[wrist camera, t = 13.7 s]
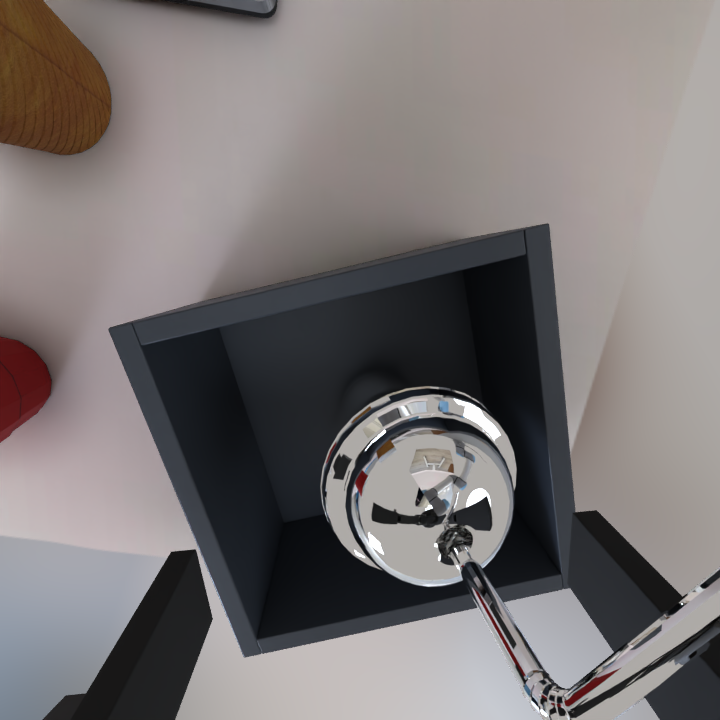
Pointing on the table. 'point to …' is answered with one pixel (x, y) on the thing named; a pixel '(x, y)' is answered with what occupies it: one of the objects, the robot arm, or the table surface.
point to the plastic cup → (20, 385)
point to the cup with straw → (477, 534)
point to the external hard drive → (237, 6)
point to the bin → (324, 422)
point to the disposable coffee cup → (48, 83)
